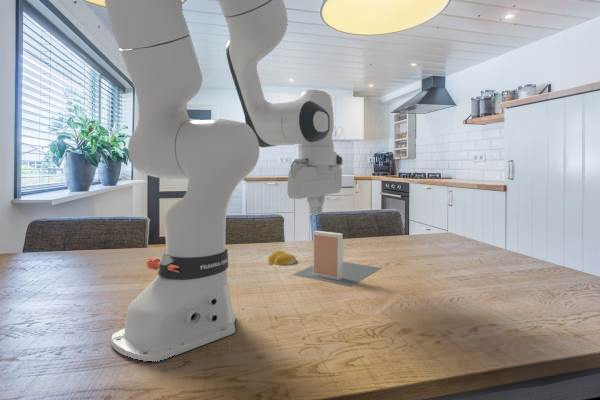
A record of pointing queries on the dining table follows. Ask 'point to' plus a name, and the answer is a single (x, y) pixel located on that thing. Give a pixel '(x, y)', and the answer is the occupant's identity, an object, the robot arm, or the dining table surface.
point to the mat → (343, 274)
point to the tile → (327, 254)
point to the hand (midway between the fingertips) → (316, 213)
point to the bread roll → (281, 258)
